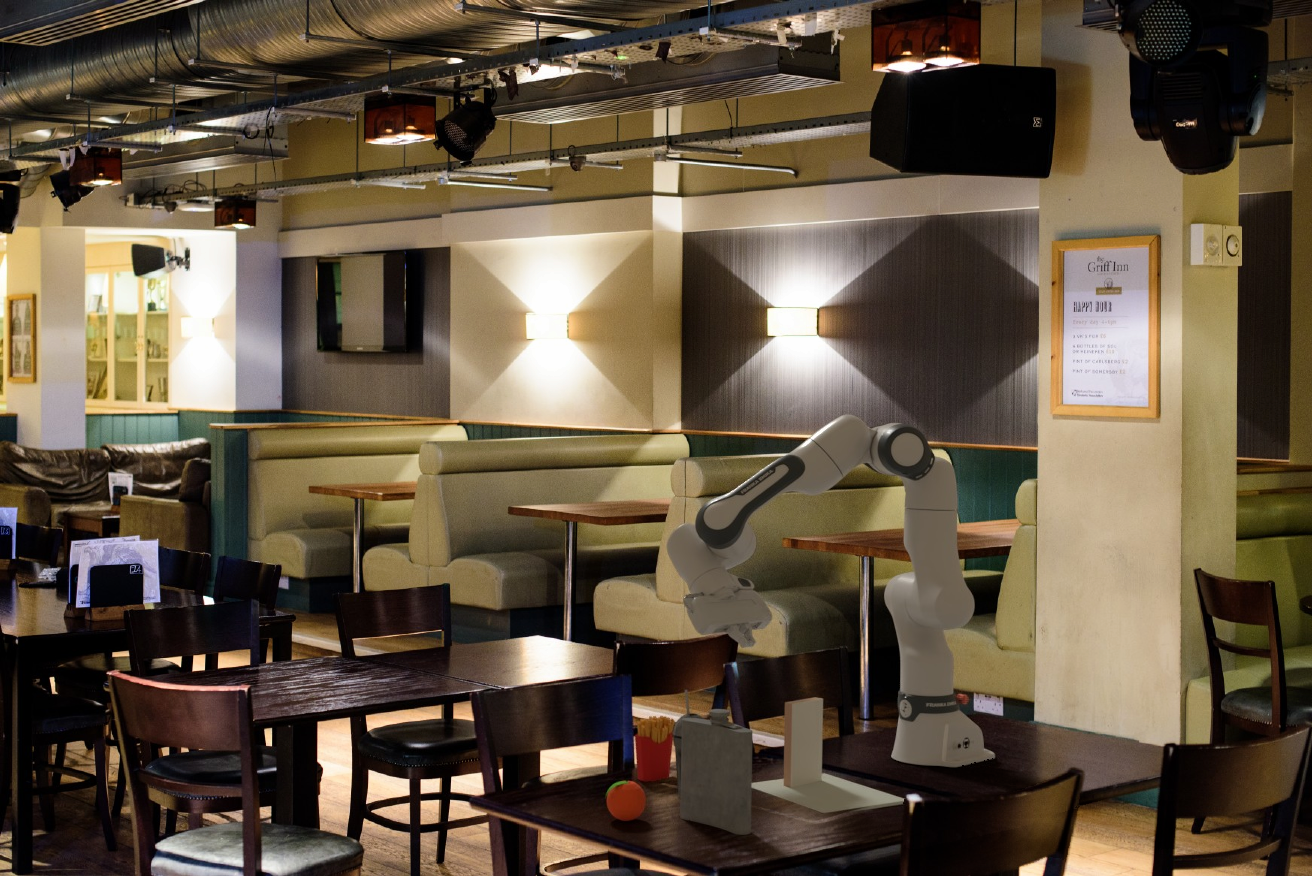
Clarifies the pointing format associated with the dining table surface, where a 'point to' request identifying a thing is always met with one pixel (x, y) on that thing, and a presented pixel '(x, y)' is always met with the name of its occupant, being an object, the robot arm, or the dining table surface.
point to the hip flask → (716, 772)
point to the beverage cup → (678, 740)
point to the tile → (803, 741)
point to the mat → (830, 794)
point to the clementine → (626, 800)
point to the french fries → (654, 748)
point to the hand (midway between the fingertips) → (749, 645)
